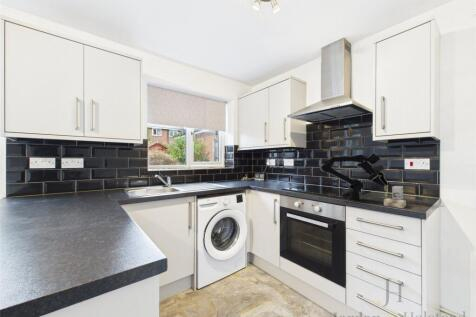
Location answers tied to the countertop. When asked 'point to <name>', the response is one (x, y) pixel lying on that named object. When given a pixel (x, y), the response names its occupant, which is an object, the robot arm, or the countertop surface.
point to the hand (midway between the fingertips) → (386, 185)
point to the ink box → (397, 192)
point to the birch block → (395, 203)
